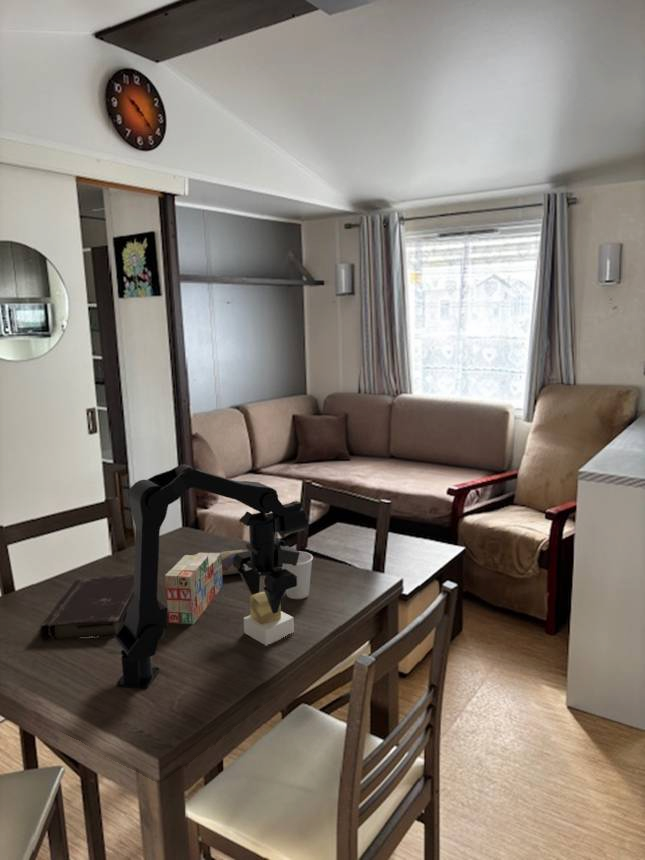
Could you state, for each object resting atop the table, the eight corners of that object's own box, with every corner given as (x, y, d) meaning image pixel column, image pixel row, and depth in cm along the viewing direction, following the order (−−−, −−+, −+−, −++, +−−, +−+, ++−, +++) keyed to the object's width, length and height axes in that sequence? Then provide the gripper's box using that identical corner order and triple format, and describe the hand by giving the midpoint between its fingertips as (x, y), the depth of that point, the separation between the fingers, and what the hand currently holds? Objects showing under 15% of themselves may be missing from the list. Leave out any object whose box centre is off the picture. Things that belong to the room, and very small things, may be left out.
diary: (39, 644, 143) (36, 623, 142) (75, 595, 168) (73, 577, 167) (123, 639, 144) (120, 618, 143) (147, 590, 168) (145, 573, 167)
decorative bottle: (194, 583, 171) (192, 560, 170) (193, 573, 178) (191, 550, 177) (288, 572, 177) (287, 549, 176) (284, 562, 184) (283, 540, 183)
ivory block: (294, 633, 144) (293, 617, 143) (266, 647, 139) (265, 630, 138) (272, 621, 150) (271, 606, 149) (244, 634, 145) (243, 617, 144)
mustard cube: (280, 618, 143) (280, 597, 142) (261, 624, 140) (260, 603, 139) (269, 610, 147) (269, 589, 146) (250, 615, 144) (249, 595, 143)
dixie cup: (317, 588, 166) (316, 552, 164) (308, 603, 158) (307, 565, 156) (287, 585, 168) (286, 549, 166) (276, 599, 160) (275, 562, 158)
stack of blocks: (201, 584, 170) (198, 541, 168) (223, 586, 169) (221, 542, 167) (168, 623, 150) (164, 574, 147) (193, 625, 149) (189, 576, 146)
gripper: (316, 543, 137) (318, 610, 140) (272, 521, 152) (274, 582, 155) (272, 556, 131) (275, 626, 134) (230, 531, 146) (233, 595, 149)
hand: (265, 605), depth 143 cm, fingers open, 8 cm apart
